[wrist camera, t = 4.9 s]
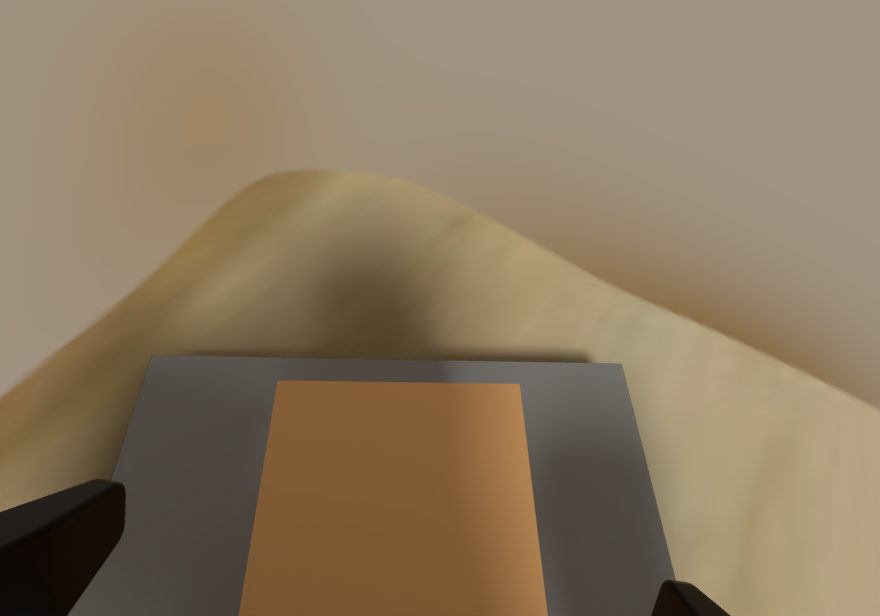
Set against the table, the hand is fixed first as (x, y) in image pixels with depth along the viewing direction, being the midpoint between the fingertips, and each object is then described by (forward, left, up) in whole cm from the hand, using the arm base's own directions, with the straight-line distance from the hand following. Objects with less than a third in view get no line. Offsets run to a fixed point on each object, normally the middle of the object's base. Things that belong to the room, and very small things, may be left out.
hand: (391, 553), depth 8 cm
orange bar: (0, 0, -9) cm, 9 cm away
